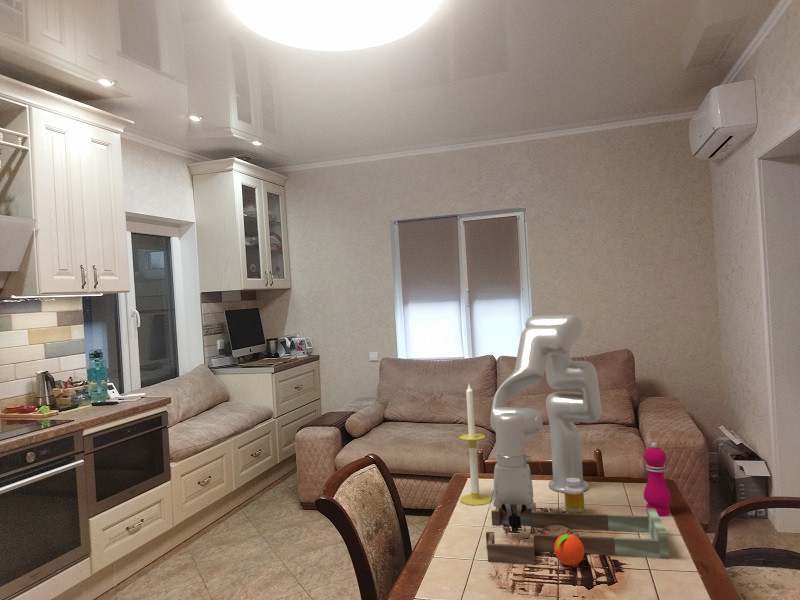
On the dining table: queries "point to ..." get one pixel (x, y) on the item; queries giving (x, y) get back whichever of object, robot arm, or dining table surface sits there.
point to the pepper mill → (656, 481)
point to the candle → (473, 456)
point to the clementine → (569, 549)
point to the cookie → (557, 530)
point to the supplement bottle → (574, 496)
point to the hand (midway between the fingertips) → (515, 529)
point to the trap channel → (591, 544)
